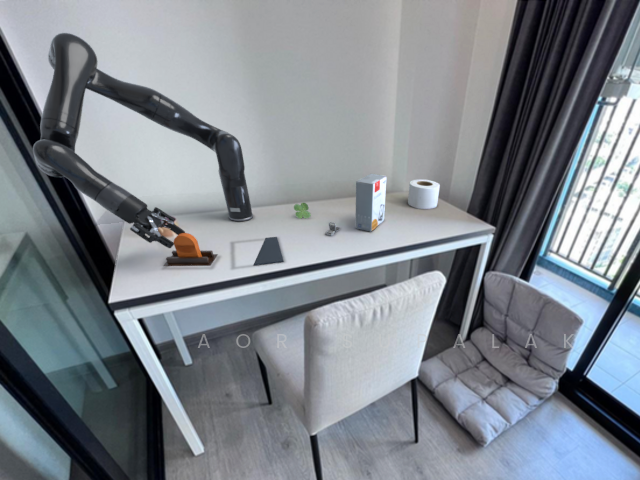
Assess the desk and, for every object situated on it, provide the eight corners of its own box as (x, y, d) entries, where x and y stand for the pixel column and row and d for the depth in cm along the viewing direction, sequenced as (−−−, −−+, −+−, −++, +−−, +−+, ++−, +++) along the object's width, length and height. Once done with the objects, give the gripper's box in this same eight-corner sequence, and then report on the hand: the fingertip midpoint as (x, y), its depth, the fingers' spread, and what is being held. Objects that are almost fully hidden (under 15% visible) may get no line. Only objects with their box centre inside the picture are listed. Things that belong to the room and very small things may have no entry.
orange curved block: (180, 261, 105) (170, 235, 99) (183, 258, 106) (174, 232, 101) (200, 261, 105) (191, 236, 100) (202, 258, 107) (194, 232, 102)
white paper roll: (422, 211, 162) (425, 189, 156) (401, 202, 171) (403, 181, 165) (442, 205, 171) (446, 185, 165) (422, 197, 180) (424, 177, 174)
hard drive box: (371, 232, 136) (372, 184, 125) (355, 229, 138) (354, 181, 127) (384, 220, 149) (386, 175, 137) (369, 217, 150) (370, 172, 139)
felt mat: (231, 242, 120) (231, 241, 120) (277, 238, 126) (276, 236, 125) (232, 268, 105) (232, 266, 105) (283, 261, 111) (283, 260, 111)
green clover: (304, 225, 150) (304, 222, 143) (290, 213, 147) (289, 210, 141) (314, 213, 151) (315, 210, 144) (300, 201, 148) (300, 198, 142)
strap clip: (331, 236, 130) (331, 226, 128) (324, 235, 131) (324, 225, 129) (340, 228, 137) (340, 219, 135) (333, 227, 138) (333, 218, 135)
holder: (163, 268, 102) (160, 260, 101) (174, 256, 109) (171, 248, 107) (211, 268, 104) (208, 260, 103) (218, 256, 111) (216, 248, 109)
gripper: (128, 203, 100) (180, 238, 109) (101, 221, 89) (161, 258, 97) (141, 187, 98) (193, 223, 106) (114, 203, 86) (175, 242, 95)
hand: (178, 240), depth 102 cm, fingers open, 8 cm apart
